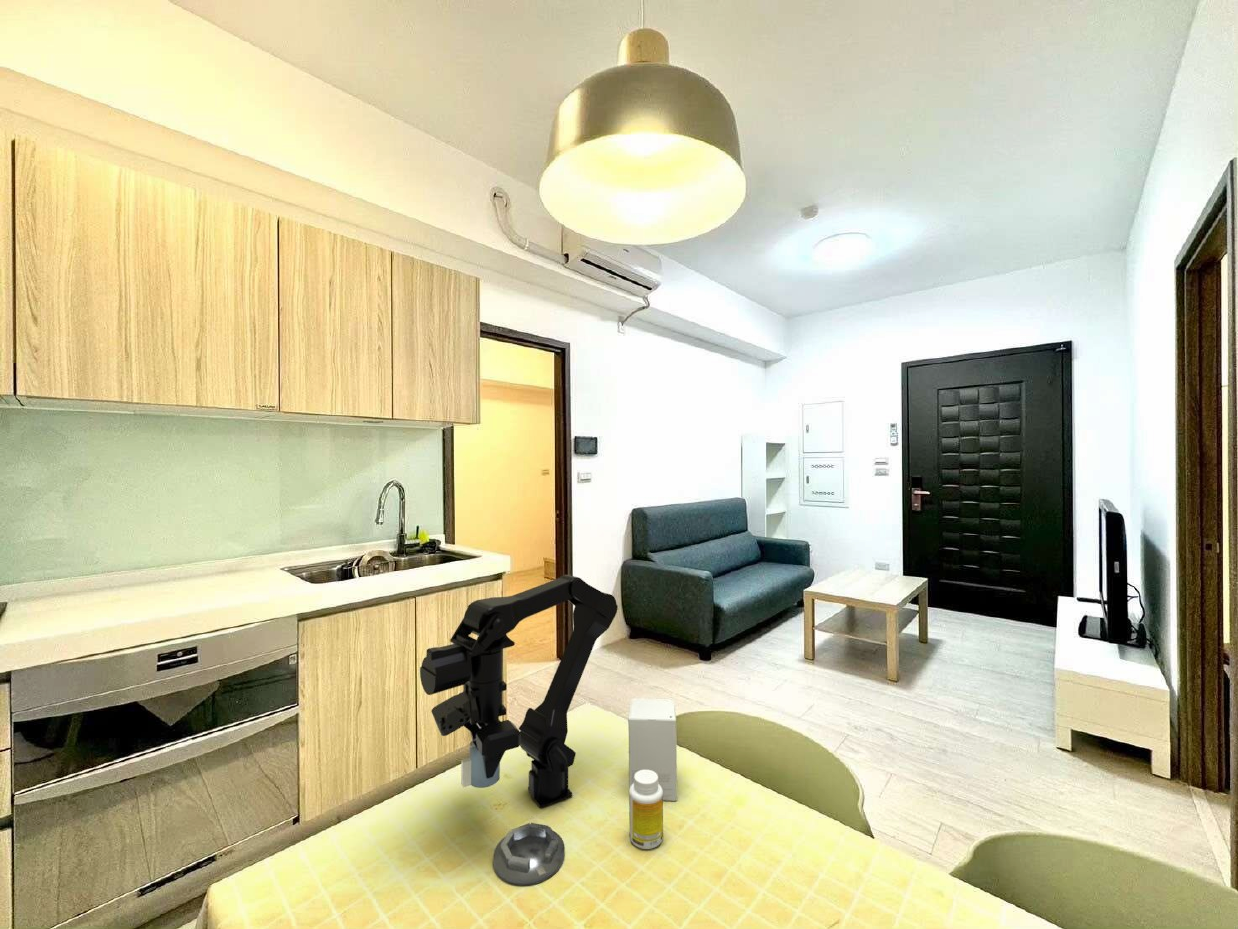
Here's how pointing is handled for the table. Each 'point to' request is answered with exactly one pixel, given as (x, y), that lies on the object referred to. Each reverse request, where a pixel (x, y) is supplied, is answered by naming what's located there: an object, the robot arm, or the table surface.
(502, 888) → the table surface
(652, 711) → the supplement box
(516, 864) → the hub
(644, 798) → the supplement bottle
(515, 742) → the robot arm
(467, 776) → the knob
